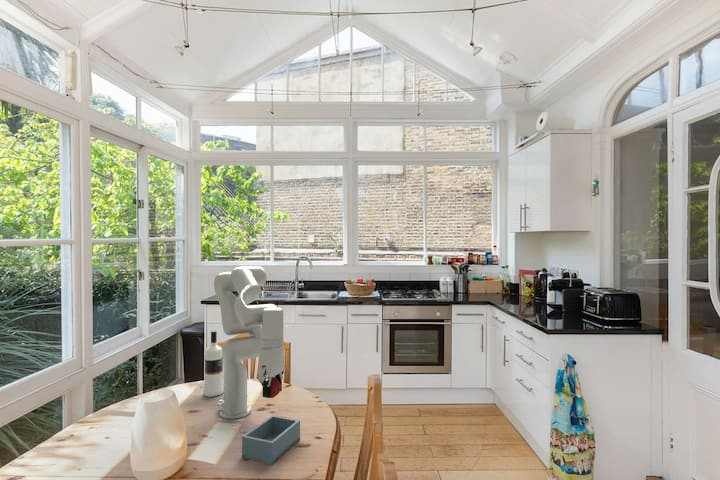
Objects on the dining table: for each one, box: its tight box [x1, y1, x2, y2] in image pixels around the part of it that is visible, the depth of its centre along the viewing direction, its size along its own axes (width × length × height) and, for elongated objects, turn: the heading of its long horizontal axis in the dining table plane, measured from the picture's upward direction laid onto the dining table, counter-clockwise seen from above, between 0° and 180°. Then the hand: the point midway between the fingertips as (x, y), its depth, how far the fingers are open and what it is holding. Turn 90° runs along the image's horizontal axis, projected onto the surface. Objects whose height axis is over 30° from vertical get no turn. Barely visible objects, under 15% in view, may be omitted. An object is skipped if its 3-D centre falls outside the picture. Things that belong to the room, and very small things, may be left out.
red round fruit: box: [266, 377, 281, 399], centre depth 141 cm, size 6×6×8 cm
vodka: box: [202, 330, 224, 398], centre depth 191 cm, size 9×9×30 cm
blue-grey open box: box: [241, 414, 301, 465], centre depth 140 cm, size 12×18×7 cm, turn 159°
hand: (272, 393), depth 141 cm, fingers closed on red round fruit, 5 cm apart
